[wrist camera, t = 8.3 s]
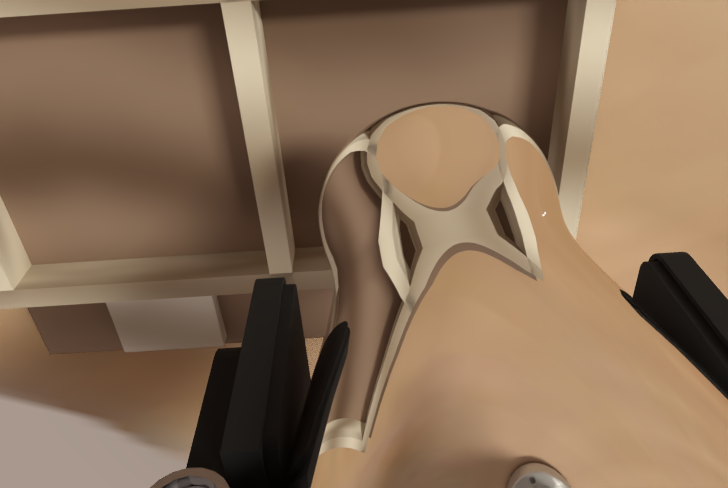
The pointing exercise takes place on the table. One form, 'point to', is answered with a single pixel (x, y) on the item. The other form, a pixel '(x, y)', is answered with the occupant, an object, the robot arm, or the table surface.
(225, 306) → the divided sorting tray
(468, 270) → the silver piece
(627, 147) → the table surface
